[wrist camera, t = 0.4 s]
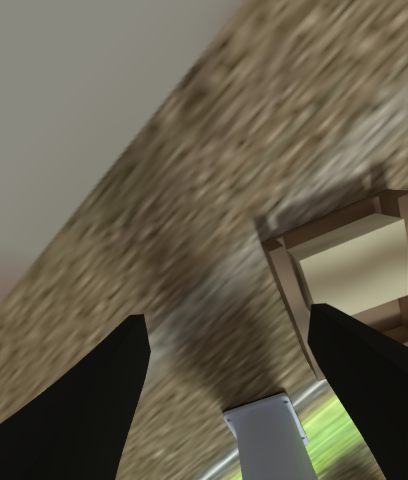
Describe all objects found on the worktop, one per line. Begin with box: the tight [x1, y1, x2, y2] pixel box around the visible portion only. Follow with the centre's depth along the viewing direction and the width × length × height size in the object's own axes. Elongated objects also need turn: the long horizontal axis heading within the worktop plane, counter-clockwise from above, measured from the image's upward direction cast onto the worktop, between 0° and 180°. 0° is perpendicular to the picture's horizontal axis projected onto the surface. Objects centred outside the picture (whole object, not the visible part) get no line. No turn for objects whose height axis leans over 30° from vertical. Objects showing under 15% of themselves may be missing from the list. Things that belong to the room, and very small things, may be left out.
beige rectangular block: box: [287, 213, 408, 316], centre depth 16 cm, size 6×8×2 cm
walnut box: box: [261, 189, 408, 381], centre depth 18 cm, size 15×11×2 cm
